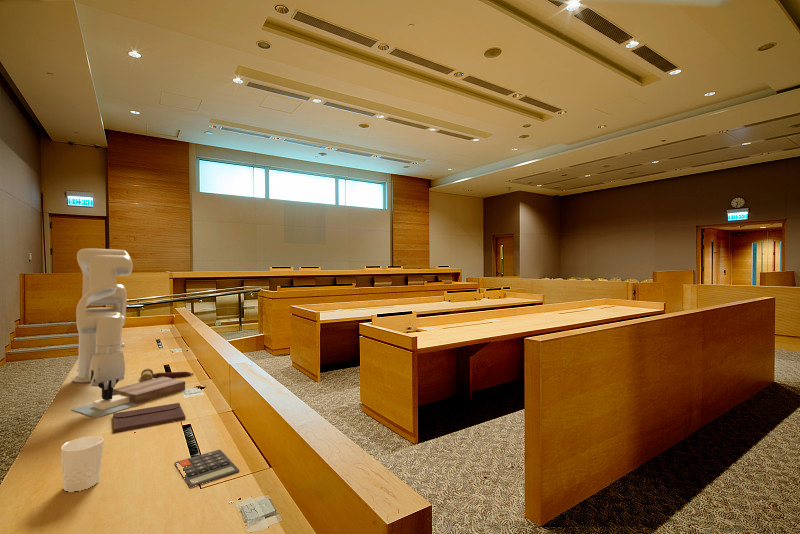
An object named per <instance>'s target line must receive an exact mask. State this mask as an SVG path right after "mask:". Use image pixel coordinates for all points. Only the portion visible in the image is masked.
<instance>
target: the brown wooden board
mask: <svg viewBox="0 0 800 534" xmlns="http://www.w3.org/2000/svg"><path fill="white" fill-rule="evenodd" d="M185 390H186V381H185V380H181V379H176V378H168V377H159V378H152V380H148V381H144V382H136V383H132V384H129V385H124V386H120V387H115V388H113V396H115V395H118V394H121V395H125V396H129V402H131V403H135V404H138V405H139V404H141V403H145V402H149V401H153V400H155V399H159V398H162V397H165V396H170V395H172V394H176V393H178V392H183V391H185Z"/></svg>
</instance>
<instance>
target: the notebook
mask: <svg viewBox="0 0 800 534" xmlns="http://www.w3.org/2000/svg"><path fill="white" fill-rule="evenodd" d="M112 419H113V420H112V421H113V422H112V423H113V434H116V432H117V433H122V432H126V431H133V430H137V429H138V430H139V429H143V428H148V427H152V426H153V425H154V426H159V425H163V424H169V423H174V421H175V422H180V421H184V420H186V415H185V413H184V410H183V409H182V406H181V404H180V402H176V403H170V404H164V405H156V406H151V407H144V408H138V409H132V410H126V411H121V412H120V411H118V412H114V413H112Z"/></svg>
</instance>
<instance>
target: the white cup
mask: <svg viewBox="0 0 800 534" xmlns="http://www.w3.org/2000/svg"><path fill="white" fill-rule="evenodd" d="M60 452H61V454H60V455H61V456H60V457H61V459H60V460H61V477H62V490H63V489H64V490H65V491H68V492H67V493H75V492H74V491H79V492H82V491H81V490H83V491H85V490H84V489H86V490H89V489H91V488H92V487H91V486H93V487H94V485H95V484H96V483H97V482H98V483H99V482H100V480H101V479H100V478H101V470H102V460H103V452H104V438H103V437H102V436H100V435H99V436H98V435H90V436H89V435H88V436H82V437H78V438H75V439H72V440H69V441H67V442H65V443H64V444H62V445H61V447H60ZM98 483H97V484H98ZM97 484H96V485H97ZM96 485H95V486H96ZM90 487H91V488H90ZM88 488H89V489H88ZM64 490H63V491H64ZM65 491H64V492H65Z"/></svg>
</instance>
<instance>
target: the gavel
mask: <svg viewBox="0 0 800 534" xmlns="http://www.w3.org/2000/svg"><path fill="white" fill-rule="evenodd" d="M186 376H187V377H191V376H194V372H188V371H174V372H173V371H171V372H167V371H166V372H156V373H154V371H153V369H152V368H144V369H143V370H142V371H141V373H140V378H139V381H140V382H144V381H148V380H152V379H155V378H159V377H168V378H172V377H173V378H172V379H176V377H178V378H187V377H186ZM140 382H139V383H140Z"/></svg>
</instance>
